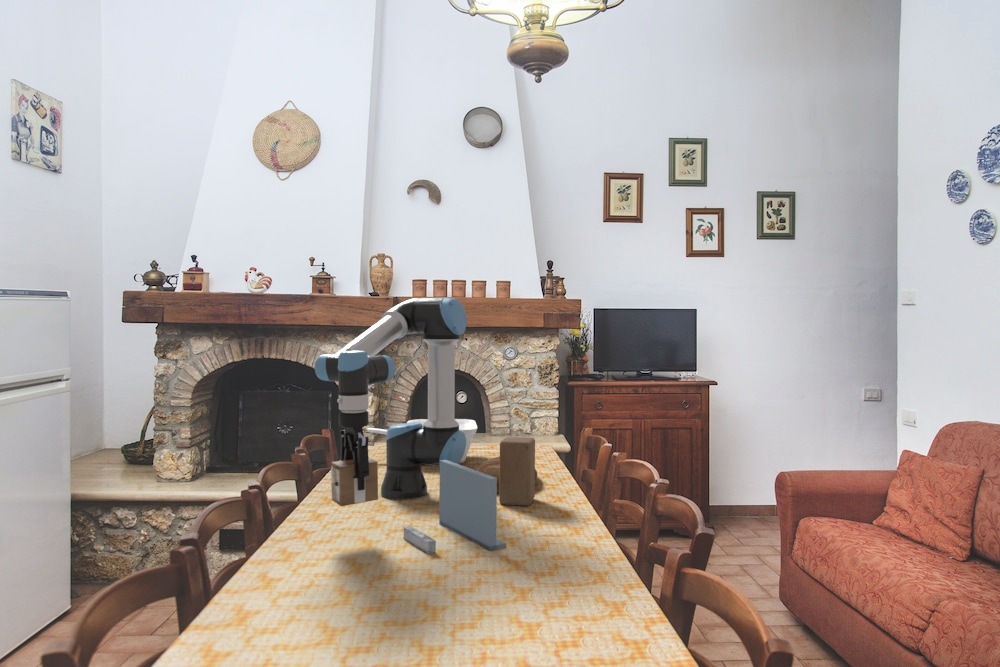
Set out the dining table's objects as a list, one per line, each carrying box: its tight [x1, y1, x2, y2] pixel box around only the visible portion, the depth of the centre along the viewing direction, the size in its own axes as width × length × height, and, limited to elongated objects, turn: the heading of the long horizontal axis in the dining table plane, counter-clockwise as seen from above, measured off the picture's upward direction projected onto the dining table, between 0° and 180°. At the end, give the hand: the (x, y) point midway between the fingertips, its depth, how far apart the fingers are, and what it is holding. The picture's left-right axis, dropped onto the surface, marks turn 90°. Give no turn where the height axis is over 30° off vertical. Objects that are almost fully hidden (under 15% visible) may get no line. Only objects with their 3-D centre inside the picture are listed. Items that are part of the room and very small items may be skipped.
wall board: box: [438, 460, 507, 551], centre depth 179 cm, size 26×5×18 cm, turn 34°
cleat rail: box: [403, 525, 437, 555], centre depth 170 cm, size 14×2×3 cm, turn 34°
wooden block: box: [498, 436, 536, 507], centre depth 212 cm, size 10×10×20 cm
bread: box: [476, 456, 538, 495], centre depth 238 cm, size 22×37×8 cm, turn 0°
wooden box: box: [330, 456, 379, 507], centre depth 173 cm, size 6×11×10 cm, turn 124°
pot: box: [366, 418, 479, 465], centre depth 272 cm, size 29×44×15 cm, turn 95°
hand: (354, 498), depth 173 cm, fingers closed on wooden box, 6 cm apart
